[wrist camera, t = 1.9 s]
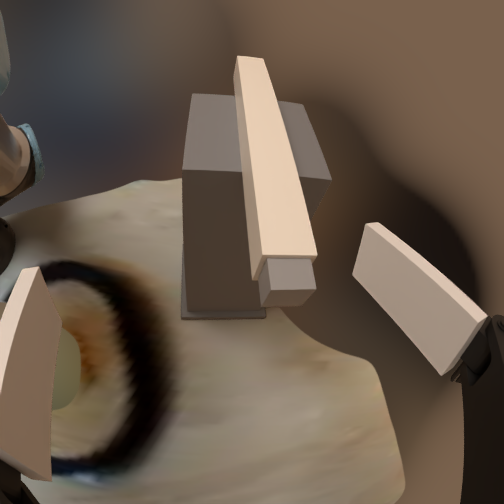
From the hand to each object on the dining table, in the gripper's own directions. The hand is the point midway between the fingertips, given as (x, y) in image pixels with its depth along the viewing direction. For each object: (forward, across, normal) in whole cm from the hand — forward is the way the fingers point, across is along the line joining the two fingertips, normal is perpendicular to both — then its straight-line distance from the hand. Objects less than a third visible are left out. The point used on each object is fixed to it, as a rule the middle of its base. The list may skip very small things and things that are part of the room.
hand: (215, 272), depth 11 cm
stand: (+32, +8, -26) cm, 42 cm away
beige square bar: (+15, +7, +2) cm, 17 cm away
